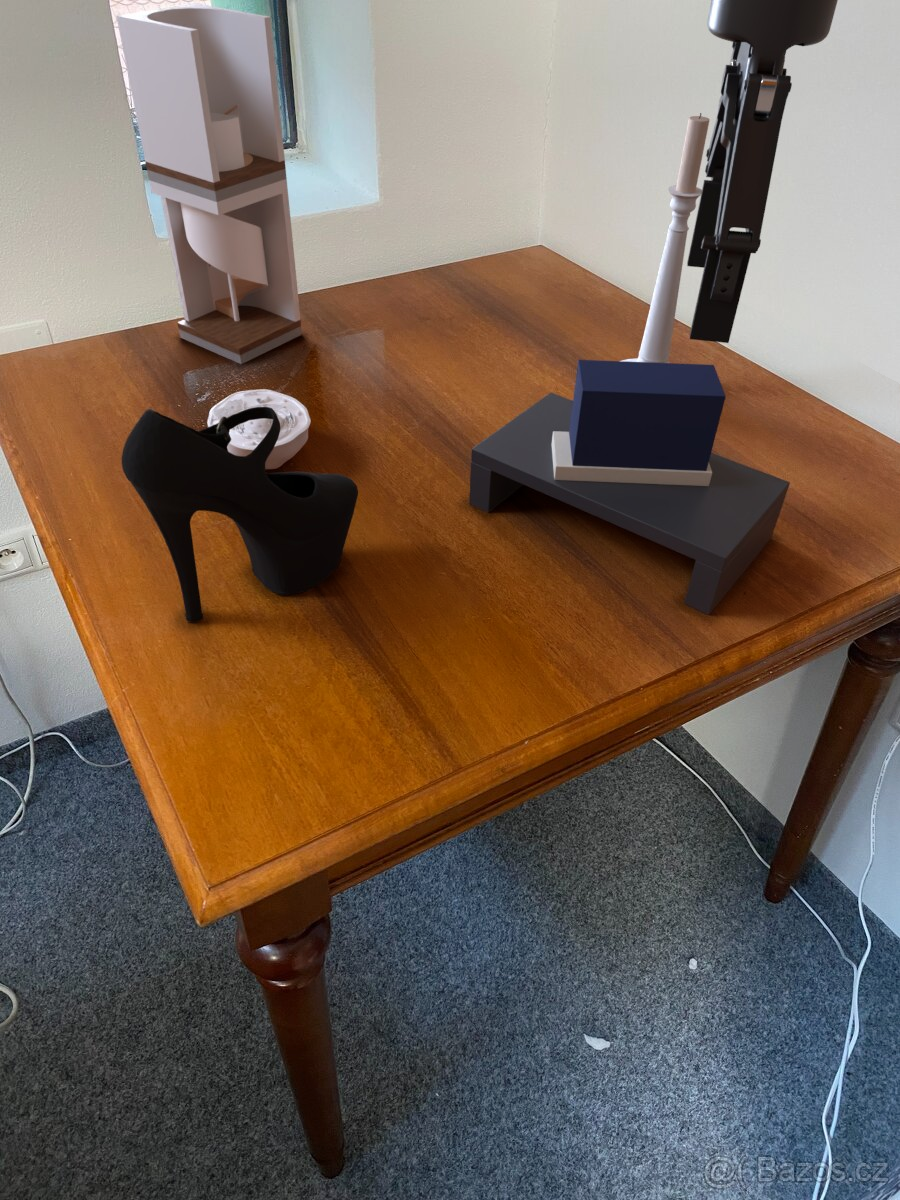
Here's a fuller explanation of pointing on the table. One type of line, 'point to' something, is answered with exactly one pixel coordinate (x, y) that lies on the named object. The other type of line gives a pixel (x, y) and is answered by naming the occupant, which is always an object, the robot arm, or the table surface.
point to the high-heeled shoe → (238, 501)
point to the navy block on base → (640, 424)
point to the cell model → (264, 424)
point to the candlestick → (674, 248)
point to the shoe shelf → (640, 499)
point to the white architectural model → (217, 171)
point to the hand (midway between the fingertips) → (706, 300)
